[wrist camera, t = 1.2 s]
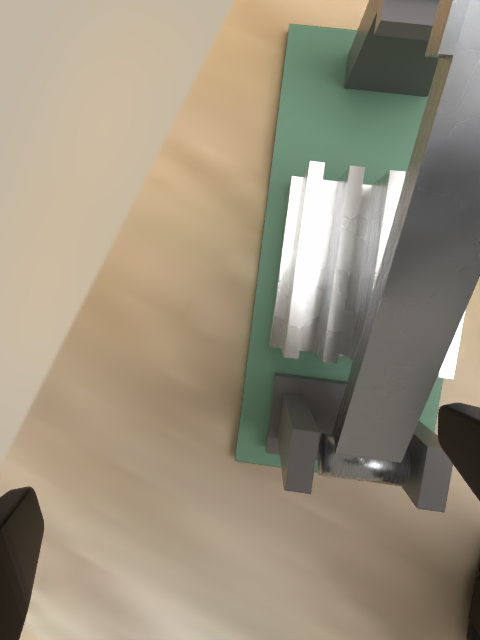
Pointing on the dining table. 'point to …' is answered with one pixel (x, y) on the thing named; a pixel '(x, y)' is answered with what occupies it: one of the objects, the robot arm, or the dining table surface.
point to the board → (338, 154)
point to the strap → (418, 268)
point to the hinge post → (320, 417)
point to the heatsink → (334, 263)
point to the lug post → (393, 48)
